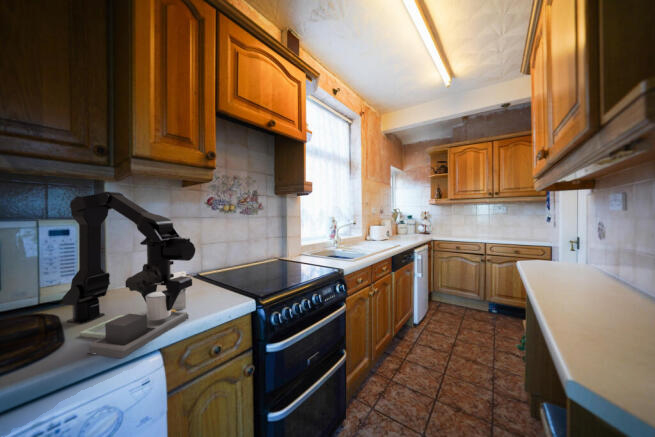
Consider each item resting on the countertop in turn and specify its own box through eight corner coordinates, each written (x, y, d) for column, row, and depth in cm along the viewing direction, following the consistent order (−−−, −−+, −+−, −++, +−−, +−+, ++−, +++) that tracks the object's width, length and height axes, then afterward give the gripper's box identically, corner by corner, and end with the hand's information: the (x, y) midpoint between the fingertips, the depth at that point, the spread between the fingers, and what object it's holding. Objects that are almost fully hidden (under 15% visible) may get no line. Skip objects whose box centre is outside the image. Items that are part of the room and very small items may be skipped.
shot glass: (177, 314, 74) (177, 292, 73) (152, 323, 68) (152, 299, 67) (166, 309, 77) (166, 288, 77) (141, 317, 71) (141, 294, 71)
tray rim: (79, 335, 66) (79, 332, 66) (120, 318, 77) (120, 315, 77) (111, 339, 64) (111, 336, 64) (148, 321, 75) (148, 318, 75)
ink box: (171, 302, 90) (170, 272, 89) (186, 300, 92) (186, 270, 92) (170, 311, 83) (169, 278, 82) (186, 308, 85) (186, 275, 85)
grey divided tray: (88, 353, 58) (87, 327, 58) (162, 315, 79) (162, 296, 79) (121, 358, 56) (120, 331, 56) (188, 318, 77) (188, 298, 77)
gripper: (104, 263, 66) (106, 318, 66) (161, 267, 62) (162, 325, 63) (143, 256, 76) (144, 303, 77) (193, 258, 73) (193, 308, 74)
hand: (160, 309), depth 72 cm, fingers closed on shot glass, 6 cm apart
